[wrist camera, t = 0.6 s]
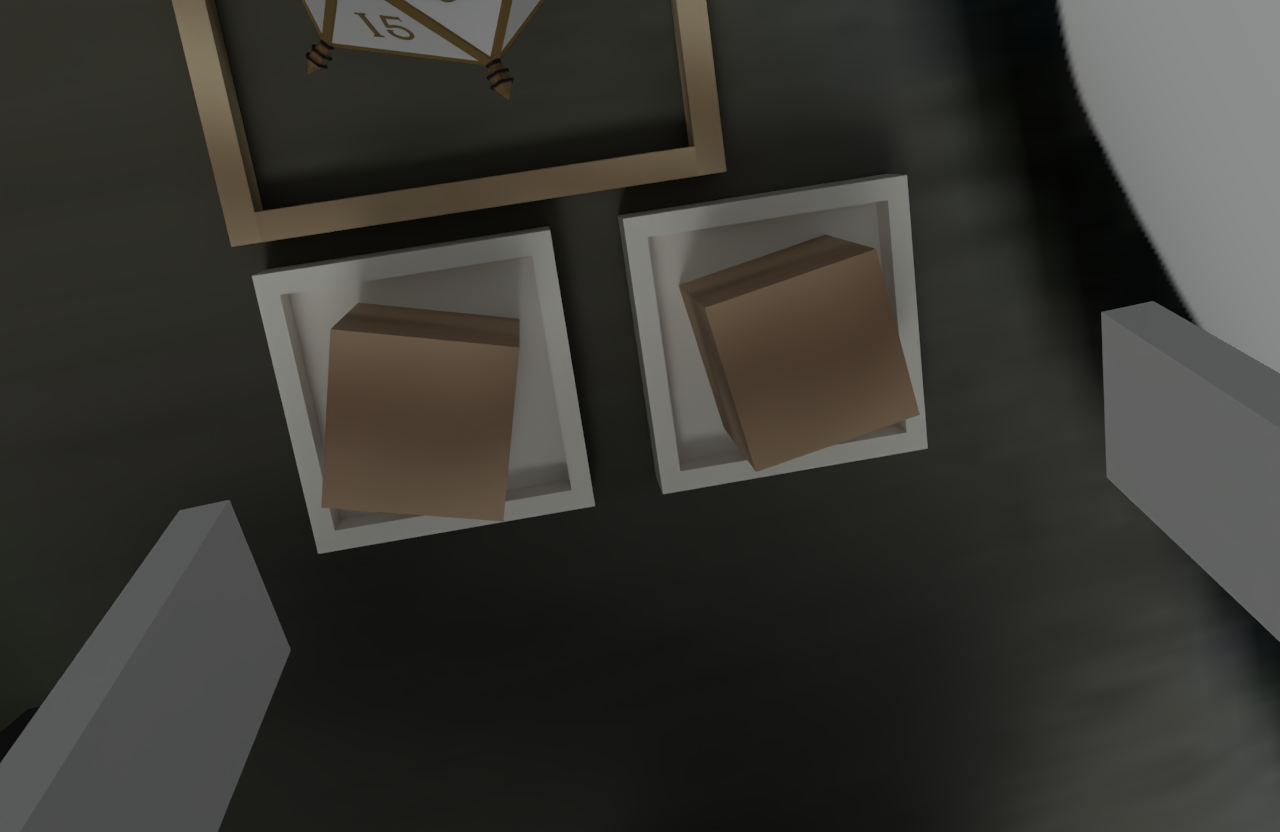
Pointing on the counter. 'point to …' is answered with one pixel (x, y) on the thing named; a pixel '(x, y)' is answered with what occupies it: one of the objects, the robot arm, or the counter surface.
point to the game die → (423, 30)
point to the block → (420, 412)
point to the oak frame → (347, 213)
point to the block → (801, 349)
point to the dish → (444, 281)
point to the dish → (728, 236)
